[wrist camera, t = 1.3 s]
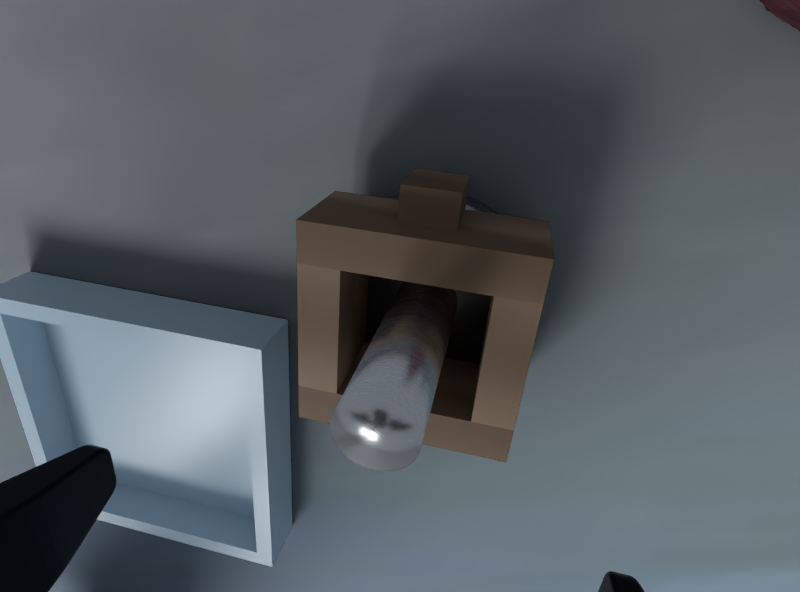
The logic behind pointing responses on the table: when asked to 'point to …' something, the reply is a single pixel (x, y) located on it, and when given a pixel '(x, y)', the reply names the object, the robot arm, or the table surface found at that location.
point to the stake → (405, 365)
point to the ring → (429, 265)
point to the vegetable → (785, 10)
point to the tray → (159, 406)
